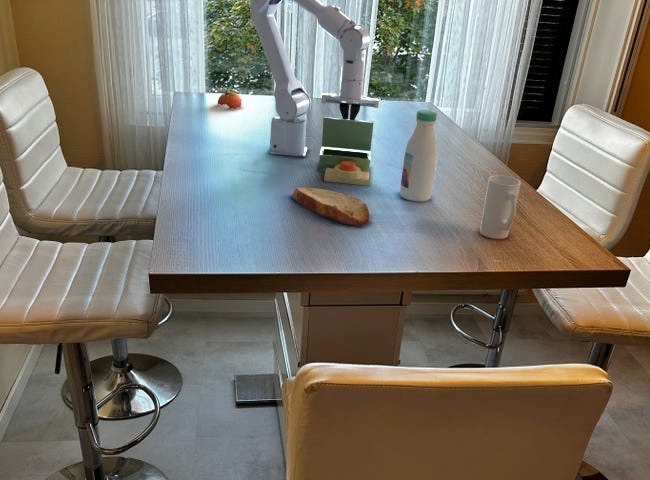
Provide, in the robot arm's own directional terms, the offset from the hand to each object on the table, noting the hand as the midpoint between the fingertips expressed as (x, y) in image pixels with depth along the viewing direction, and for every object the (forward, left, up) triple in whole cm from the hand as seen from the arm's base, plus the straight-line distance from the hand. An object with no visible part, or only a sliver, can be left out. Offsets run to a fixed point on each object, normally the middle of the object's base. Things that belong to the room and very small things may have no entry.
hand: (347, 133), depth 184 cm
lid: (0, -2, 0) cm, 2 cm away
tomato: (-40, +50, -8) cm, 64 cm away
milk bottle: (+18, -21, -8) cm, 29 cm away
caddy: (0, -5, -8) cm, 9 cm away
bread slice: (-2, -36, -8) cm, 37 cm away
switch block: (+1, -13, -8) cm, 15 cm away
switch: (+1, -14, -5) cm, 15 cm away
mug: (+35, -42, -8) cm, 56 cm away
